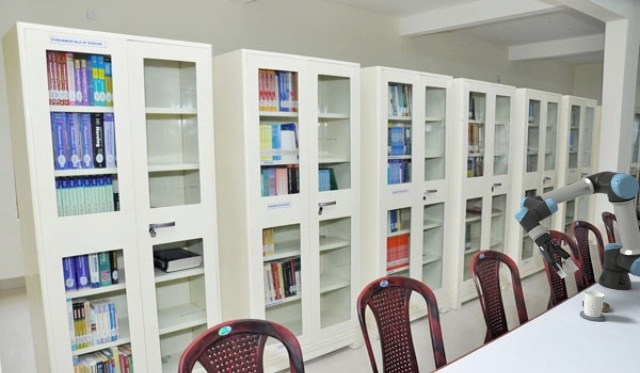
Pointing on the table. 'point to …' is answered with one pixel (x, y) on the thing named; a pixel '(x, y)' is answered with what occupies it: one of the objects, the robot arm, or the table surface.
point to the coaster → (592, 317)
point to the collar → (605, 307)
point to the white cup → (593, 303)
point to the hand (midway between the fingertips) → (570, 273)
